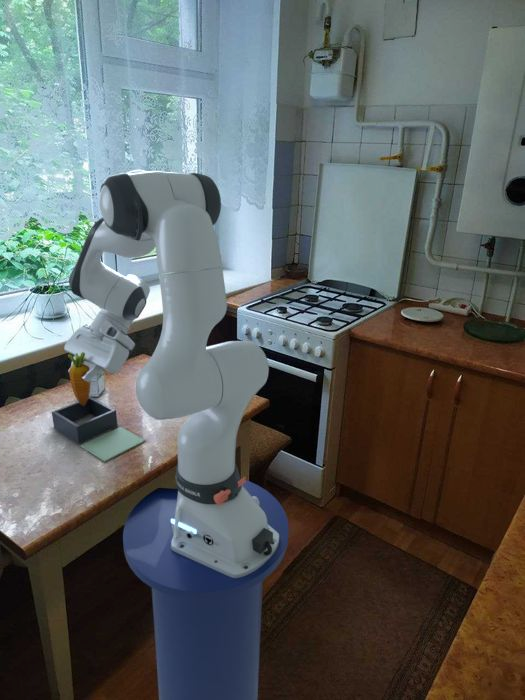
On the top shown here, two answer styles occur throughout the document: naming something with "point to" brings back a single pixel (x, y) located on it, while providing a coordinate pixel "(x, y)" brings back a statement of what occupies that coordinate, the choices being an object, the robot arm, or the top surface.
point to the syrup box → (96, 382)
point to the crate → (90, 428)
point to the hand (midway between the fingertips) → (78, 377)
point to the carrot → (79, 378)
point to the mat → (112, 443)
